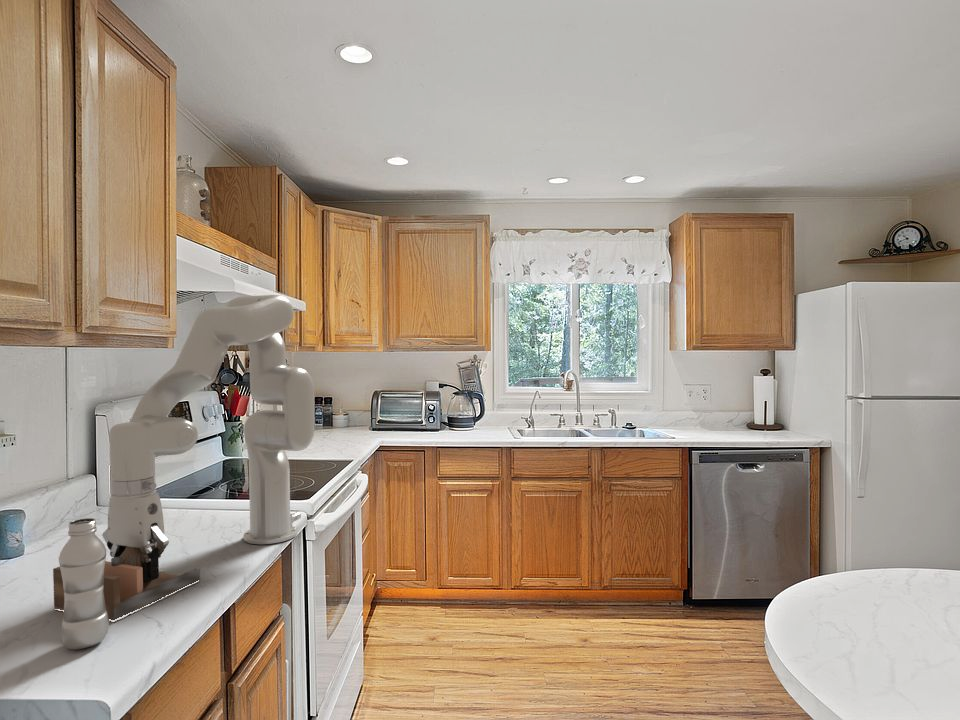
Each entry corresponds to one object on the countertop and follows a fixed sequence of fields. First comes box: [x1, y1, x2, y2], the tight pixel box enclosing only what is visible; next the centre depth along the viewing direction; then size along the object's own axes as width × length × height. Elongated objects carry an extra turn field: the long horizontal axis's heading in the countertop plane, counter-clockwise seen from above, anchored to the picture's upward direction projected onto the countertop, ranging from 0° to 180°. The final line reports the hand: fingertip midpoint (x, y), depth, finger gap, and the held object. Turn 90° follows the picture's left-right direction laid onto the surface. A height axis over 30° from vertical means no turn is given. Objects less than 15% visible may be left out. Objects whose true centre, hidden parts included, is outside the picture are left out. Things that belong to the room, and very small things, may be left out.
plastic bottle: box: [58, 517, 110, 650], centre depth 97 cm, size 6×7×20 cm
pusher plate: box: [104, 557, 143, 601], centre depth 113 cm, size 2×12×8 cm, turn 70°
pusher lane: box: [52, 566, 201, 620], centre depth 116 cm, size 19×15×8 cm
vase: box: [120, 547, 151, 588], centre depth 117 cm, size 7×7×9 cm
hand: (135, 577), depth 117 cm, fingers closed on vase, 6 cm apart
